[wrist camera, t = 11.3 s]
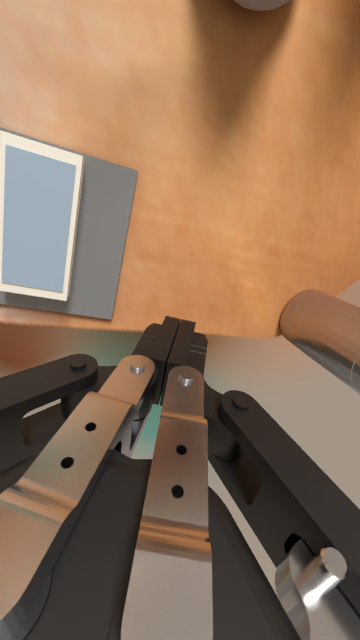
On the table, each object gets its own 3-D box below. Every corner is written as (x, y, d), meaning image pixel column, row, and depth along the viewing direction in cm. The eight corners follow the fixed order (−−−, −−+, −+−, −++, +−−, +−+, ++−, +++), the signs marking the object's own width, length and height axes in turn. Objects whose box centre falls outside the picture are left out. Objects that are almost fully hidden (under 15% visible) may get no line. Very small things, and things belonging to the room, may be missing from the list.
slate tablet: (69, 294, 33) (85, 160, 28) (66, 301, 31) (82, 155, 26) (4, 284, 31) (9, 136, 26) (-5, 290, 28) (-1, 129, 24)
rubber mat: (137, 171, 30) (137, 171, 30) (111, 317, 36) (111, 319, 35) (-56, 110, 25) (-60, 108, 24) (-50, 294, 30) (-53, 296, 30)
